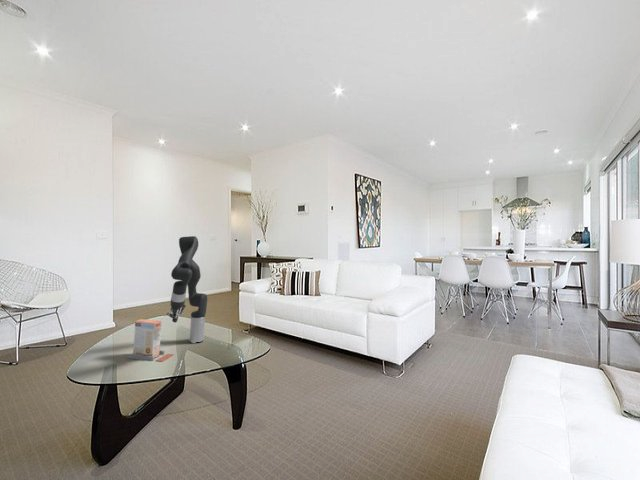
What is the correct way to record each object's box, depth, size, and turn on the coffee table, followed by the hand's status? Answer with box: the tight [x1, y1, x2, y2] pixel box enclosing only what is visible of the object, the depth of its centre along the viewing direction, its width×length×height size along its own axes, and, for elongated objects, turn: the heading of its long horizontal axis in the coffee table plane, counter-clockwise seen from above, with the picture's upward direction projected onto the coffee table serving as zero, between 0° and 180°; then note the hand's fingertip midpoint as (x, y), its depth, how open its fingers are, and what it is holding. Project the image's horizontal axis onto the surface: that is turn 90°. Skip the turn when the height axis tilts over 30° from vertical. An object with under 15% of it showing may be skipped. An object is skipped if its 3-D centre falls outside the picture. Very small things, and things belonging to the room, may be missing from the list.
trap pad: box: [155, 353, 175, 362], centre depth 177 cm, size 11×4×1 cm, turn 174°
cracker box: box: [132, 318, 162, 359], centre depth 178 cm, size 14×6×21 cm, turn 74°
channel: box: [126, 349, 166, 361], centre depth 178 cm, size 11×16×2 cm, turn 84°
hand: (174, 321), depth 181 cm, fingers closed
